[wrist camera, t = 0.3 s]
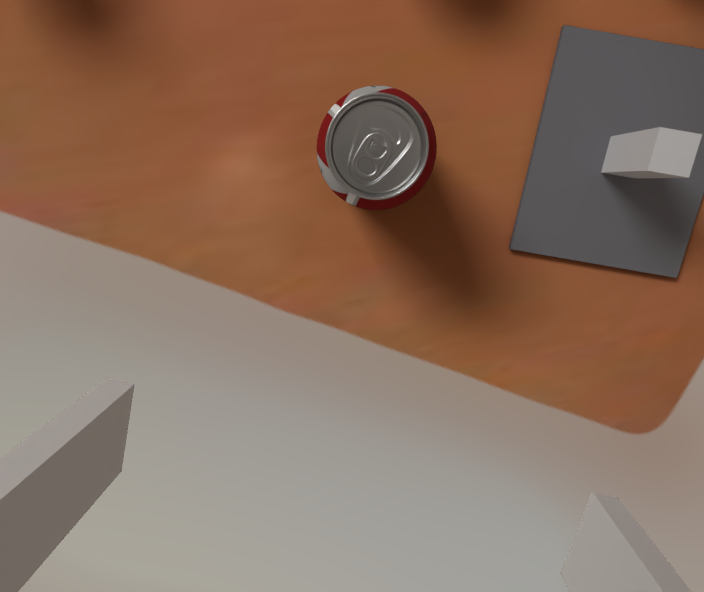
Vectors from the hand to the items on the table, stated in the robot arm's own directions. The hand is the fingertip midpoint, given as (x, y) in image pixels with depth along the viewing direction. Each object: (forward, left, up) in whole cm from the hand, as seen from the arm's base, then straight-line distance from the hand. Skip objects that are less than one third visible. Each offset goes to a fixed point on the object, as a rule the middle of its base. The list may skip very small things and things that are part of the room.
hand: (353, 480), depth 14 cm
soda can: (-10, -1, -28) cm, 29 cm away
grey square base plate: (-13, +17, -27) cm, 35 cm away
